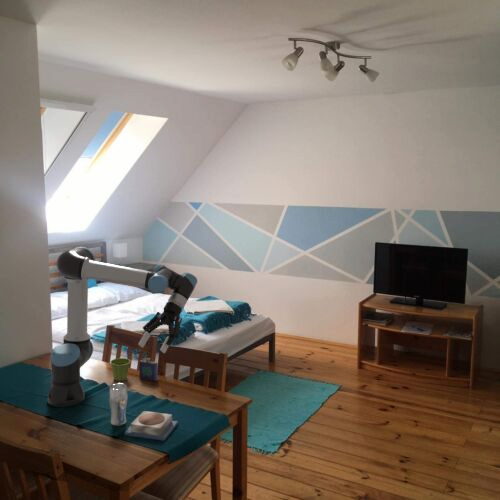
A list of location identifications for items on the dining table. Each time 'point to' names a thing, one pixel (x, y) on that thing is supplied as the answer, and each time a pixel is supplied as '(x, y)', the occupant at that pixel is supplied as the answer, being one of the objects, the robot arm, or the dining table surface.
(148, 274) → the robot arm
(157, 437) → the grey flat slab
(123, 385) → the silver metal cup
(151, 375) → the flask
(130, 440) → the dining table surface
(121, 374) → the plant pot
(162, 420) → the plinth
